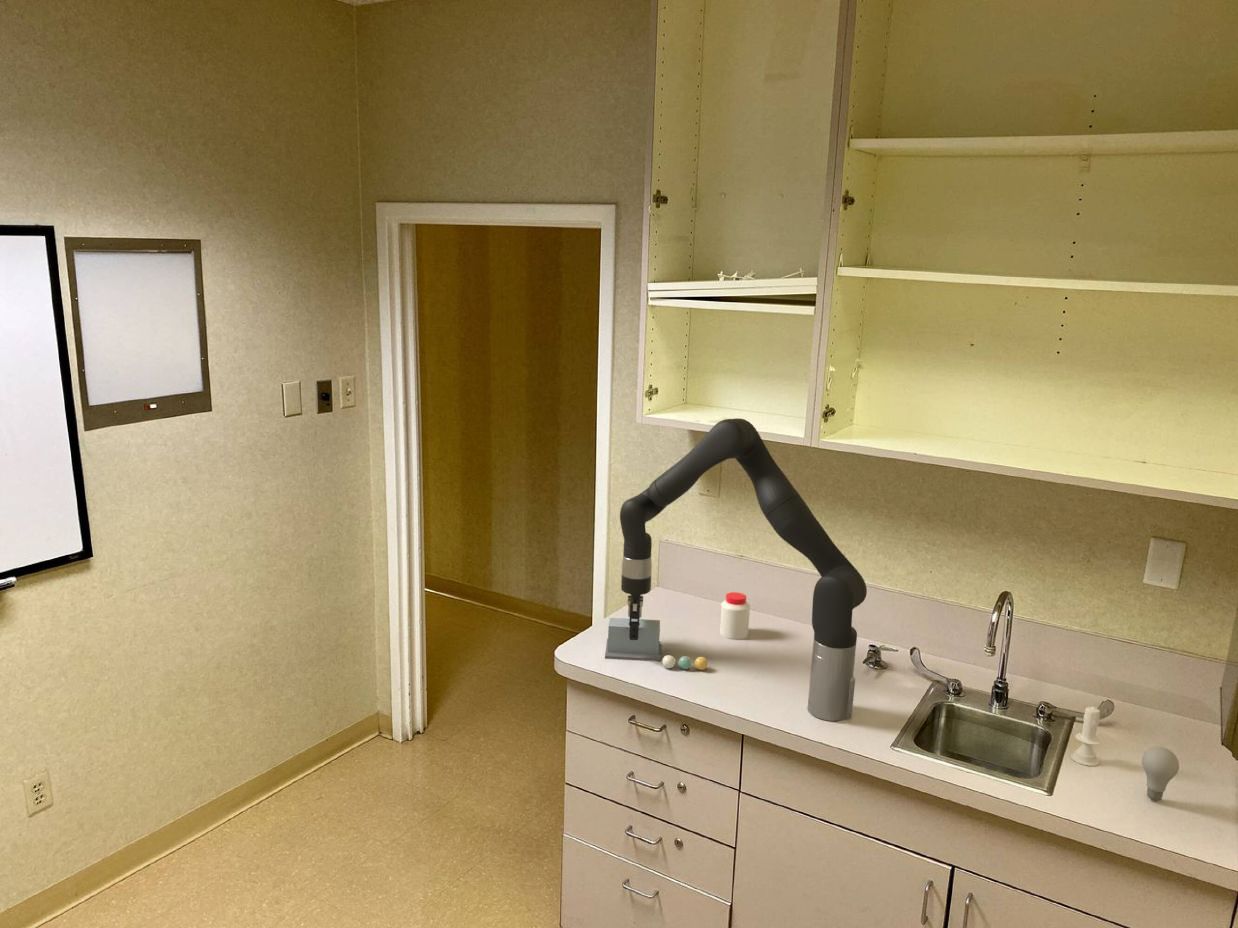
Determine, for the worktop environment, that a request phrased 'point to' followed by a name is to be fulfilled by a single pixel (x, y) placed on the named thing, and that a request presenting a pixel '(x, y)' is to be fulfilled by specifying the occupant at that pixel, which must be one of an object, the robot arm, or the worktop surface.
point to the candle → (1088, 738)
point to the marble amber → (701, 663)
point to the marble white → (668, 661)
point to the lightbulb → (1159, 770)
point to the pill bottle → (734, 616)
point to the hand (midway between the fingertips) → (634, 632)
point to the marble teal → (684, 662)
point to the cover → (623, 644)
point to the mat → (632, 655)
